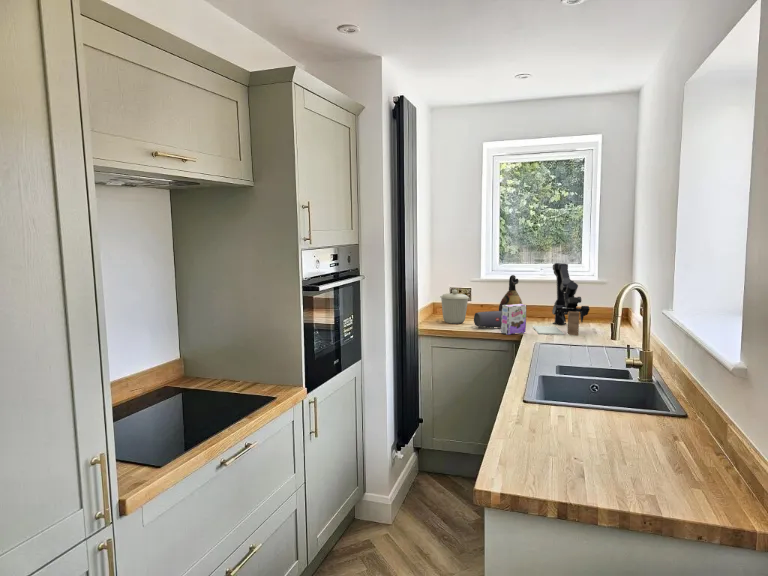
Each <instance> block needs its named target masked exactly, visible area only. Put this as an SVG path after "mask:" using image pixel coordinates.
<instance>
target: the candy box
mask: <svg viewBox="0 0 768 576" xmlns="http://www.w3.org/2000/svg"><path fill="white" fill-rule="evenodd" d="M526 326H527V305H526V304H513V305H502V318H501V328H500V333H501V334H503V335H516V334H515V333H519V334H525V333H524V332H526V331H527V329H526V328H527V327H526Z"/></svg>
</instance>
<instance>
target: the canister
mask: <svg viewBox="0 0 768 576" xmlns="http://www.w3.org/2000/svg"><path fill="white" fill-rule="evenodd" d="M439 298H441V308H442V309H441V310H442V319H443V321H444V322H445V323H447V324H454V325H455V324H462V323H464V322H465V320H466V316H467V315H466V314H467V308H468V301H469V299H470V297H469V296H468V295H466V294H463V293H459V292H458V290H457V289H452V290H451V292H450V293H444V294H442V295H441V296H440V297H439Z"/></svg>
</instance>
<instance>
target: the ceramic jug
mask: <svg viewBox="0 0 768 576" xmlns="http://www.w3.org/2000/svg"><path fill="white" fill-rule="evenodd" d="M518 284H519V278H517V276H515V274H511V275H510V276H509V279H508V291H507V292H506V293H505V294H504V295H503V297H502V299H501V300H500V303H499V306H498V311H502V305H513V304H523V301H522V299H521V297H520V295H519V293H518V291H517V289H516V285H518ZM523 305H524V304H523Z"/></svg>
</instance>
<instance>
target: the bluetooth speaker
mask: <svg viewBox="0 0 768 576" xmlns="http://www.w3.org/2000/svg"><path fill="white" fill-rule="evenodd" d="M501 318H502V311H499V310H493V311H492V310H490V311H478V312H475V313H474V316H473V324H474V326H476V327H481V328H482V327H483V328H484V327H485V329H495V328H494V327H501Z"/></svg>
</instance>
